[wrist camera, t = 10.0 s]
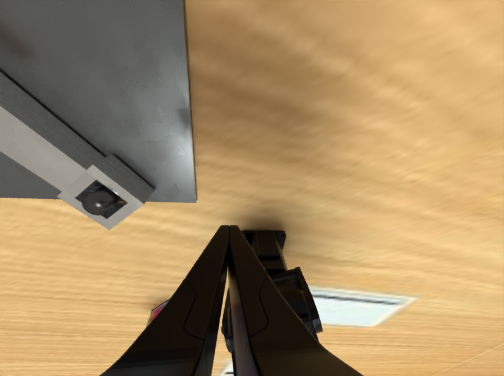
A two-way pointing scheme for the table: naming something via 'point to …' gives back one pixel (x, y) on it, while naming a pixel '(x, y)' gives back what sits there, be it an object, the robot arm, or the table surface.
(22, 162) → the link
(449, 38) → the table surface
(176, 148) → the pintle plate
